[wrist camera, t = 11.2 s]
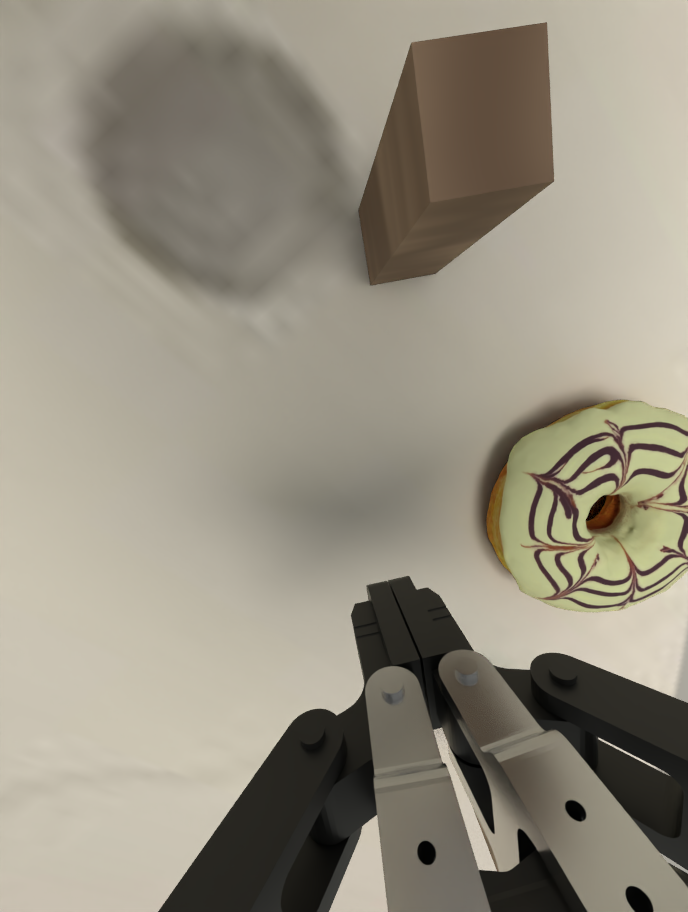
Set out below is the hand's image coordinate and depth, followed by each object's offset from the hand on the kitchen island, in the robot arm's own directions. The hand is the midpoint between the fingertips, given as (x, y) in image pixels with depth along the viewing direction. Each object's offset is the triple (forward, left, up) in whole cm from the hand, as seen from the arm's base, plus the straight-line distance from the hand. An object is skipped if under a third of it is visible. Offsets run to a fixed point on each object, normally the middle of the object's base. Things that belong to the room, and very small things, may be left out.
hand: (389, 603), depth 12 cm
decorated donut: (+12, -1, -7) cm, 13 cm away
